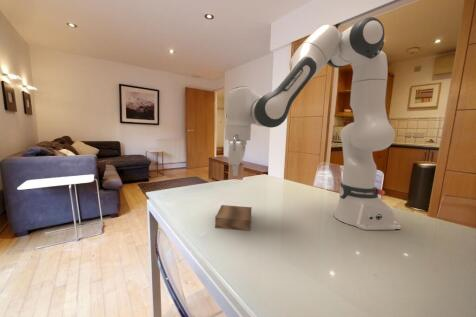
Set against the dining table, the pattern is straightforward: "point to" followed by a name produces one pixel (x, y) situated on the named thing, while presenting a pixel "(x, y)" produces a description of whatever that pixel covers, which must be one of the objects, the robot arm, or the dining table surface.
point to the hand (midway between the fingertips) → (236, 173)
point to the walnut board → (233, 217)
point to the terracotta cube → (240, 172)
